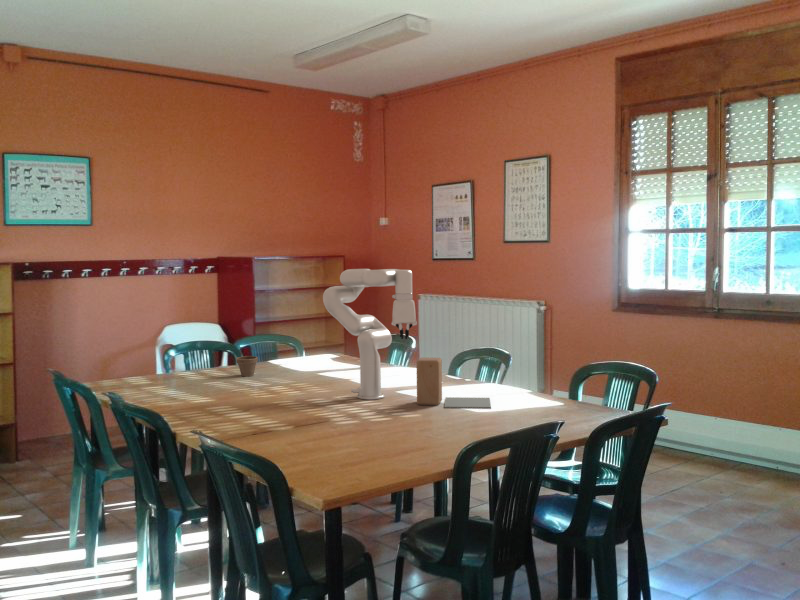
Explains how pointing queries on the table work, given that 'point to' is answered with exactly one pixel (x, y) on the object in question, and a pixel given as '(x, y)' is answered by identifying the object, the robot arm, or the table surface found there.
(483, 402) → the mat
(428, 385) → the wooden block
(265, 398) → the table surface
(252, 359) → the flower pot
